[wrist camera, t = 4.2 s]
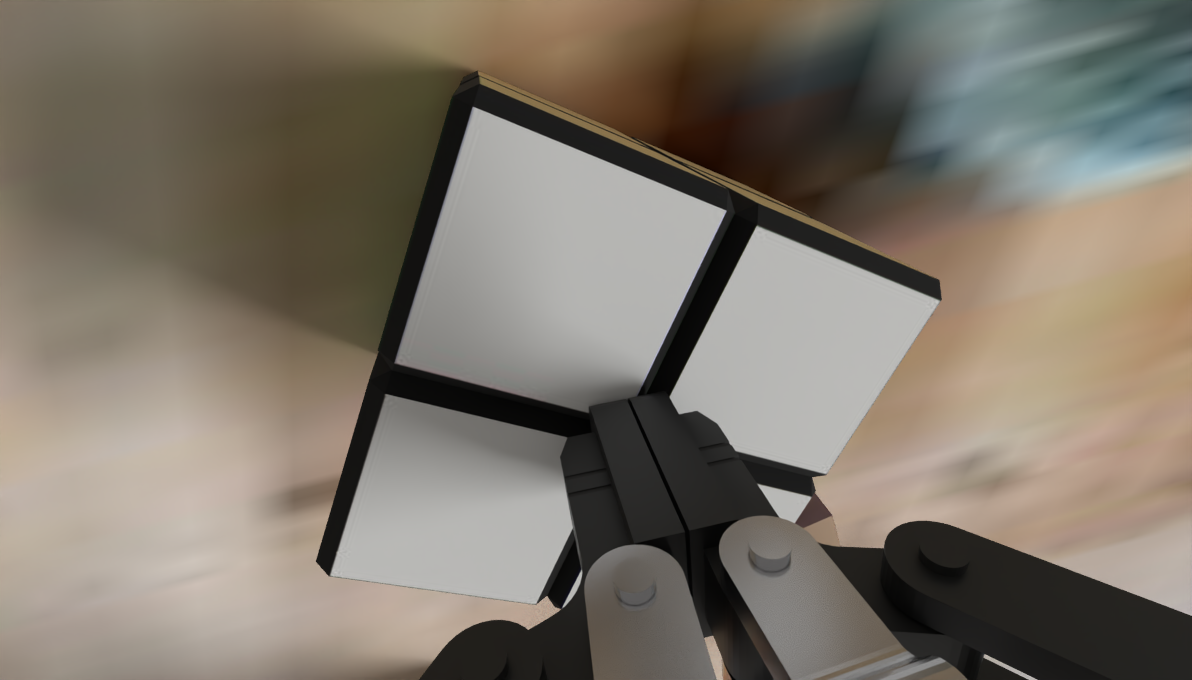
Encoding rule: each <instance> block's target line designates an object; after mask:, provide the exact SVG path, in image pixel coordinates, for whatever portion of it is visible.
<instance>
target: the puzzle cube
mask: <svg viewBox="0 0 1192 680" xmlns="http://www.w3.org/2000/svg"><path fill="white" fill-rule="evenodd" d="M941 300H942V298H941V289H940V281H939V280H938V279H936V278H934V277H932V276H930V275H928V274H926V273H924V272H922V271H920V270H918V269H916V268H914V267H911V266H909V265H907V264H905V263H903V262H901V261H899V260H897V259H895V258H893V257H891V256H889V255H887V254H885V253H883V252H880V251H878V250H876V249H874V248H872V247H870V246H868V245H866V244H864V243H862V242H860V241H858V240H856V239H854V238H852V237H850V236H847V235H845V234H843V233H841V232H839V231H837V230H835V229H833V228H831V227H829V226H827V225H825V224H823V223H820V222H818V221H816V220H813V219H812V217H810V216H808V215H806V214H804V213H802V212H800V211H798V210H795V209H793V208H791V207H789V206H787V205H785V204H783V203H781V202H779V201H777V200H775V199H773V198H771V197H768V196H766V195H764V194H762V193H760V192H758V191H756V190H754V189H752V188H750V187H748V186H746V185H743V184H741V183H739V182H736V181H734V180H732V179H729V178H727V177H725V176H722V175H720V174H718V173H715V172H713V171H711V170H708V169H706V168H704V167H701V166H699V165H697V164H694V163H692V162H690V161H687V160H685V159H683V158H680V157H678V156H676V155H673V154H671V153H669V152H666V151H664V150H662V149H659V148H657V147H655V146H652V145H650V144H648V143H645V142H643V141H641V140H638V139H636V138H634V137H632V138H630V137H628V136H626V135H624V134H622V133H620V132H619V131H617V130H615V129H613V128H610V127H608V126H606V125H603V124H601V123H599V122H596V121H594V120H592V119H589V118H587V117H585V116H582V115H580V114H578V113H575V112H573V111H571V110H568V109H566V108H564V107H561V106H559V105H557V104H554V103H552V102H550V101H548V100H545V99H543V98H541V97H538V96H536V95H534V94H531V93H529V92H527V91H524V90H522V89H520V88H517V87H515V86H513V85H510V84H508V83H506V82H503V81H501V80H499V79H496V78H494V77H492V76H489V75H487V74H485V73H482V72H480V71H476V72H474V73H472V74H470V75H467V76H465V77H464V78H463V80H462V81H461V83H460V86H459V88H458V89H457V90H456V92H455V93H454V95H453V96H452V99H451V102H450V105H449V109H448V112H447V116H446V119H445V123H444V126H443V129H442V133H441V136H440V140H439V143H438V146H437V150H436V153H435V157H434V160H433V163H432V167H431V170H430V174H429V177H428V181H427V184H426V187H425V191H424V194H423V198H422V201H421V204H420V208H419V211H418V215H417V218H416V221H415V225H414V228H413V232H412V235H411V239H410V242H409V245H408V249H407V252H406V256H405V259H404V262H403V266H402V269H401V273H400V276H399V279H398V283H397V286H396V290H395V293H394V297H393V300H392V303H391V307H390V310H389V314H388V317H387V320H386V324H385V327H384V331H383V334H382V338H381V341H380V344H379V348H378V351H379V352H378V355H377V358H376V361H375V364H374V367H373V370H372V373H371V376H370V379H369V382H368V385H367V389H366V392H365V396H364V399H363V402H362V406H361V409H360V413H359V416H358V420H357V423H356V426H355V430H354V433H353V437H352V440H351V443H350V447H349V450H348V454H347V457H346V460H345V464H344V467H343V471H342V474H341V478H340V481H339V484H338V488H337V491H336V495H335V498H334V501H333V505H332V508H331V512H330V515H329V518H328V522H327V525H326V529H325V532H324V536H323V539H322V542H321V546H320V549H319V553H318V556H317V559H316V562H317V563H318V565H319V566H320V567H321V568H322V569H323V570H324V571H325V572H326V574H327V575H328V576H331V577H338V578H345V579H352V580H360V581H367V582H374V583H381V584H389V585H396V586H403V587H410V588H417V589H425V590H432V591H439V592H446V593H454V594H461V595H468V596H475V597H482V598H490V599H497V600H504V601H511V602H518V603H526V604H533V605H536V604H537V603H539V602H540V601H541V600H542V599H543V598H545V597H546V596H548V598H549V599H550V601H551V602H552V604H553V605H554V606H555V607H556V608H560V609H562V608H563V607H565V606H566V605H567V603H568V602H569V601H570V600H571V599H572V597H573V596H574V594H575V593H576V591H577V589H578V587H579V585H580V582H581V578H582V569H581V565H580V560H579V555H578V550H577V545H576V540H575V535H574V531H573V526H572V521H571V516H570V510H569V505H568V499H567V494H566V488H565V482H564V477H563V471H562V466H561V460H560V455H561V453H562V450H563V448H564V445H565V442H566V440H567V438H568V437H573V436H578V435H582V434H587V433H592V431H591V424H590V417H589V406H592V405H597V404H602V403H607V402H612V401H617V400H622V399H626V400H627V399H628V398H631V397H636V396H641V395H646V394H651V393H656V392H661V391H665V392H666V393H667V394H668V396H669V397H670V399H671V401H672V403H673V404H674V406H675V408H676V410H677V412H678V413H679V414H683V413H688V412H693V411H698V412H700V413H702V414H703V415H705V416H706V417H708V418H709V419H711V420H713V421H714V422H716V423H717V424H718V425H719V427H720V428H721V430H722V431H723V433H724V434H725V436H726V437H727V439H728V440H729V443H730V445H732V446H733V448H734V449H735V451H736V452H737V454H738V455H739V459H740V460H742V462H743V463H744V465H745V466H746V468H747V469H748V471H749V472H750V474H751V475H752V477H753V478H754V480H755V481H756V483H757V484H758V486H759V487H760V489H761V490H762V492H763V493H764V495H765V496H766V498H767V499H768V501H769V503H770V504H771V506H772V507H773V509H774V510H775V512H776V513H777V515H778V516H779V517H780V518H782V519H786V520H789V521H791V522H793V523H795V522H796V520H797V519H798V517H799V516H800V514H801V513H802V511H803V510H804V508H805V507H806V505H807V504H808V502H809V501H810V499H811V498H812V496H813V494H814V493H815V491H816V490H815V487H814V483H813V480H812V477H816V476H823V475H827V473H828V472H829V470H830V469H831V467H832V466H833V464H834V463H835V461H836V460H837V458H838V457H839V455H840V454H841V452H842V451H843V449H844V447H845V446H846V444H847V443H848V441H849V440H850V438H851V437H852V435H853V434H854V432H855V431H856V429H857V428H858V426H859V425H860V423H861V422H862V420H863V419H864V417H865V416H866V414H867V413H868V411H869V409H870V408H871V406H872V405H873V403H874V402H875V400H876V399H877V397H878V396H879V394H880V393H881V391H882V390H883V388H884V387H885V385H886V384H887V382H888V381H889V379H890V378H891V376H892V374H893V373H894V371H895V370H896V368H897V367H898V365H899V364H900V362H901V361H902V359H903V358H904V356H905V355H906V353H907V352H908V350H909V349H910V347H911V346H912V344H913V343H914V341H915V340H916V338H917V336H918V335H919V333H920V332H921V330H922V329H923V327H924V326H925V324H926V323H927V321H928V320H929V318H930V317H931V315H932V314H933V312H934V311H935V309H936V308H937V306H938V305H939V303H940V302H941Z"/></svg>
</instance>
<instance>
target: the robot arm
mask: <svg viewBox="0 0 1192 680" xmlns="http://www.w3.org/2000/svg"><path fill="white" fill-rule="evenodd" d="M589 417H590V424H591V431H592V433H587V434H582V435H578V436H573V437H568V438H567V440H566V442H565V445H564V448H563V450H562V453H561V455H560V460H561V466H562V471H563V477H564V482H565V488H566V494H567V499H568V505H569V510H570V516H571V521H572V526H573V531H574V535H575V540H576V545H577V550H578V555H579V560H580V565H581V569H582V578H581V582H580V585H579V587H578V589H577V591H576V593H575V594H574V596H573V597H572V599H571V600H570V601H569V602H568V603H567V605H566V606H565V607H563V608H562V609H561V610H560V611H559V612H557V613H556V614H554V615H553V616H551V617H550V618H548V619H547V620H545V621H543V622H541V623H540V624H538V625H536V626H534V627H533V628H531V629H529V630H527V629H526V628H525V627H523V626H521V625H519V624H517V623H514V622H511V621H505V620H491V621H486V622H482V623H479V624H476V625H473V626H471V627H469V628H467V629H465V630H464V631H462V632H461V633H459V634H458V635H456V636H455V637H454V638H453V639H452V640H451V641H450V642H449V643H448V644H447V645H446V646H445V647H444V648H443V649H442V651H441V652H440V653H439V655H438V656H437V657H436V658H435V660H434V661H433V662H432V664H431V665H430V666H429V668H428V669H427V670H426V671H425V673H424V674H423V675H422V677H421V678H420V679H419V680H717V679H716V676H715V673H714V669H713V666H712V663H711V660H710V656H709V653H708V650H707V646H706V643H705V640H704V638H705V637H709V636H714V639H715V641H716V644H717V646H718V648H719V651H720V653H721V656H722V676H723V680H1028V679H1026V678H1024V677H1022V676H1020V675H1018V674H1016V673H1014V672H1011V671H1009V670H1007V669H1005V668H1003V667H1001V666H999V665H997V664H995V663H993V662H991V661H989V660H987V659H985V658H983V657H984V654H986V655H988V656H990V657H992V658H994V659H996V660H998V661H1000V662H1002V663H1004V664H1007V665H1009V666H1011V667H1013V668H1015V669H1017V670H1019V671H1021V672H1023V673H1025V674H1027V675H1029V676H1031V677H1033V678H1035V679H1038V680H1192V616H1190V615H1188V614H1185V613H1182V612H1180V611H1177V610H1174V609H1172V608H1169V607H1166V606H1164V605H1161V604H1159V603H1156V602H1153V601H1151V600H1148V599H1145V598H1143V597H1140V596H1137V595H1135V594H1132V593H1129V592H1127V591H1124V590H1121V589H1119V588H1116V587H1113V586H1111V585H1108V584H1105V583H1103V582H1100V581H1097V580H1095V579H1092V578H1090V577H1087V576H1084V575H1082V574H1079V573H1076V572H1074V571H1071V570H1068V569H1066V568H1063V567H1060V566H1058V565H1055V564H1052V563H1050V562H1047V561H1044V560H1042V559H1039V558H1036V557H1034V556H1031V555H1028V554H1026V553H1023V552H1021V551H1018V550H1015V549H1013V548H1010V547H1007V546H1005V545H1002V544H999V543H997V542H994V541H991V540H989V539H986V538H983V537H981V536H978V535H975V534H973V533H970V532H967V531H965V530H962V529H959V528H957V527H954V526H951V525H948V524H944V523H939V522H932V521H914V522H908V523H905V524H902V525H900V526H898V527H896V528H894V529H893V530H892V531H891V532H890V533H889V534H888V536H887V538H886V541H885V544H884V549H883V548H859V547H839V546H831V545H826V544H821V543H818V542H817V541H816V540H815V539H814V538H813V537H812V536H811V534H810V533H809V532H807V531H806V530H805V529H803V528H802V527H801V526H799V525H797V524H795V523H793V522H791V521H789V520H786V519H782V518H780V517H779V516H778V515H777V513H776V512H775V510H774V509H773V507H772V506H771V504H770V503H769V501H768V499H767V498H766V496H765V495H764V493H763V492H762V490H761V489H760V487H759V486H758V484H757V483H756V481H755V480H754V478H753V477H752V475H751V474H750V472H749V471H748V469H747V468H746V466H745V465H744V463H743V462H742V460H740V459H739V455H738V454H737V452H736V451H735V449H734V448H733V446H732V445H730V443H729V440H728V439H727V437H726V436H725V434H724V433H723V431H722V430H721V428H720V427H719V425H718V424H717V423H716V422H714V421H713V420H711V419H709V418H708V417H706V416H705V415H703V414H702V413H700V412H698V411H693V412H688V413H683V414H679V413H678V412H677V410H676V408H675V406H674V404H673V403H672V401H671V399H670V397H669V396H668V394H667V393H666V392H665V391H661V392H656V393H651V394H646V395H641V396H636V397H631V398H628V399H627V400H626V399H622V400H617V401H612V402H607V403H602V404H597V405H592V406H589Z"/></svg>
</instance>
